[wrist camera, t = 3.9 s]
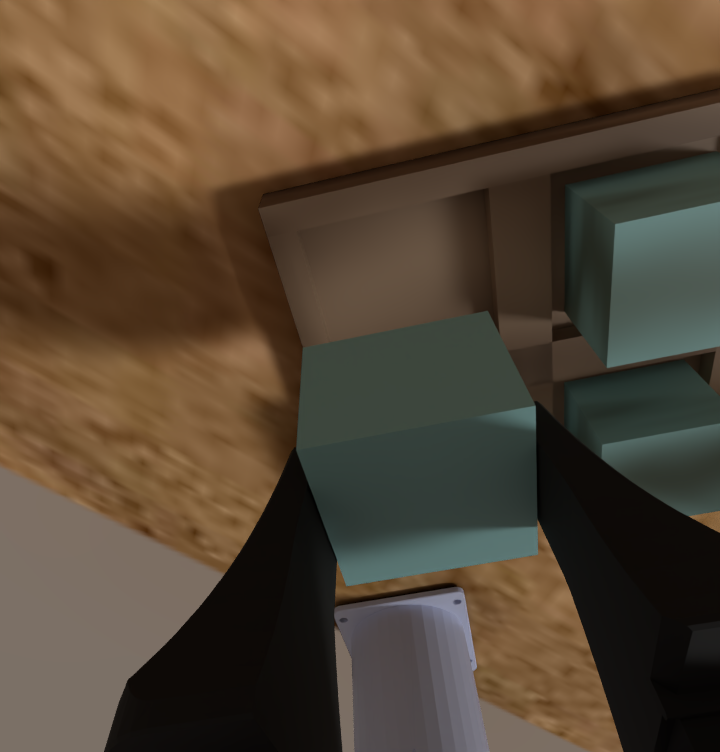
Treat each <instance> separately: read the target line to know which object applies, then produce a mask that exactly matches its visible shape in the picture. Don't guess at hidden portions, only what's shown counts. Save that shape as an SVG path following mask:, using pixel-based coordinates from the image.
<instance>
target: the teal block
mask: <svg viewBox="0 0 720 752" xmlns="http://www.w3.org/2000/svg"><path fill="white" fill-rule="evenodd" d="M296 451H297V454H298V456H299V459H300V462H301V465H302V467H303V470H304V473H305V475H306V478H307V481H308V483H309V486H310V489H311V491H312V494H313V497H314V499H315V502H316V505H317V508H318V510H319V513H320V516H321V518H322V521H323V524H324V526H325V529H326V532H327V534H328V537H329V540H330V542H331V545H332V548H333V550H334V553H335V556H336V559H337V561H338V564H339V567H340V569H341V572H342V575H343V577H344V580H345V583H346V585H347V586H351V585H357V584H363V583H369V582H375V581H381V580H387V579H393V578H399V577H405V576H411V575H417V574H423V573H430V572H436V571H442V570H448V569H454V568H460V567H466V566H472V565H478V564H484V563H490V562H496V561H502V560H508V559H514V558H520V557H526V556H532V555H538V532H537V465H536V405H535V403H534V402H533V400H532V398H531V396H530V394H529V392H528V390H527V388H526V386H525V384H524V382H523V380H522V378H521V376H520V374H519V372H518V370H517V368H516V366H515V364H514V362H513V360H512V358H511V356H510V354H509V352H508V350H507V348H506V346H505V344H504V342H503V340H502V338H501V336H500V334H499V332H498V330H497V328H496V326H495V324H494V322H493V320H492V318H491V316H490V314H489V312H488V311H484V312H479V313H474V314H469V315H464V316H459V317H454V318H449V319H444V320H439V321H434V322H429V323H424V324H419V325H414V326H409V327H404V328H399V329H394V330H389V331H384V332H379V333H374V334H369V335H364V336H359V337H354V338H349V339H344V340H339V341H334V342H329V343H324V344H319V345H314V346H309V347H304V348H303V353H302V369H301V384H300V399H299V414H298V430H297V445H296Z"/></svg>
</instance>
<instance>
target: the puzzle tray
mask: <svg viewBox="0 0 720 752" xmlns="http://www.w3.org/2000/svg"><path fill="white" fill-rule="evenodd" d="M258 210H259V213H260V216H261V219H262V222H263V225H264V228H265V231H266V235H267V238H268V241H269V244H270V247H271V250H272V253H273V256H274V259H275V262H276V266H277V269H278V272H279V275H280V278H281V281H282V284H283V287H284V290H285V294H286V297H287V300H288V303H289V306H290V309H291V312H292V315H293V318H294V322H295V325H296V328H297V331H298V334H299V337H300V340H301V343H302V346H303V348H304V347H309V346H314V345H319V344H324V343H329V342H334V341H339V340H344V339H349V338H354V337H359V336H364V335H369V334H374V333H379V332H384V331H389V330H394V329H399V328H404V327H409V326H414V325H419V324H424V323H429V322H434V321H439V320H444V319H449V318H454V317H459V316H464V315H469V314H474V313H479V312H484V311H488V312H489V314H490V316H491V318H492V320H493V322H494V324H495V326H496V328H497V330H498V332H499V334H500V336H501V338H502V340H503V342H504V344H505V346H506V348H507V350H508V352H509V354H510V356H511V358H512V360H513V362H514V364H515V366H516V368H517V370H518V372H519V374H520V376H521V378H522V380H523V382H524V384H525V386H526V388H527V390H528V392H529V394H530V396H531V398H532V400H533V402H534V401H538V402H539V403H541V404H542V405H543V406H544V407H545V408H546V409H547V410H548V411H549V412H550V413H551V414H552V415H553V416H554V417H555V418H556V419H557V420H558V421H559V422H560V423H561V424H562V425H563V426H564V427H565V428H567V429H568V430H569V431H570V432H571V433H572V434H573V435H574V436H575V437H576V438H578V439H579V440H580V441H581V442H582V443H583V444H585V445H586V446H587V447H588V448H589V449H590V450H592V451H593V452H594V453H595V454H596V455H598V456H599V457H600V458H601V459H603V460H604V461H605V462H606V463H608V464H609V465H610V466H612V467H613V468H614V469H616V470H617V471H618V472H620V473H621V474H622V475H624V476H625V477H626V478H628V479H629V480H630V481H632V482H633V483H635V484H636V485H638V486H639V487H641V488H642V489H644V490H645V491H647V492H648V493H650V494H651V495H653V496H654V497H656V498H658V499H659V500H661V501H662V502H664V503H666V504H667V505H669V506H671V507H672V508H674V509H676V510H677V511H679V512H681V513H683V514H685V515H687V516H691V515H697V514H703V513H709V512H715V511H720V89H716V90H711V91H707V92H703V93H698V94H694V95H690V96H685V97H681V98H677V99H673V100H668V101H664V102H660V103H655V104H651V105H647V106H642V107H638V108H634V109H629V110H625V111H621V112H616V113H612V114H608V115H604V116H599V117H595V118H591V119H586V120H582V121H578V122H573V123H569V124H565V125H560V126H556V127H552V128H547V129H543V130H539V131H534V132H530V133H526V134H522V135H517V136H513V137H509V138H504V139H500V140H496V141H491V142H487V143H483V144H478V145H474V146H470V147H465V148H461V149H457V150H453V151H448V152H444V153H440V154H435V155H431V156H427V157H422V158H418V159H414V160H409V161H405V162H401V163H396V164H392V165H388V166H383V167H379V168H375V169H371V170H366V171H362V172H358V173H353V174H349V175H345V176H340V177H336V178H332V179H327V180H323V181H319V182H314V183H310V184H306V185H302V186H297V187H293V188H289V189H284V190H280V191H276V192H271V193H267V194H263V196H262V199H261V202H260V205H259V208H258Z"/></svg>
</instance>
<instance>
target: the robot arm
mask: <svg viewBox="0 0 720 752" xmlns="http://www.w3.org/2000/svg"><path fill="white" fill-rule="evenodd" d="M534 403H535V405H536V465H537V519H538V521H539V523H540V525H541V527H542V529H543V532H544V534H545V536H546V538H547V540H548V542H549V544H550V547H551V549H552V551H553V553H554V555H555V557H556V559H557V561H558V564H559V566H560V568H561V570H562V572H563V574H564V577H565V579H566V582H567V584H568V586H569V589H570V591H571V594H572V597H573V600H574V603H575V606H576V608H577V611H578V614H579V617H580V620H581V623H582V625H583V628H584V631H585V634H586V637H587V640H588V643H589V646H590V649H591V652H592V655H593V658H594V661H595V664H596V667H597V670H598V673H599V676H600V679H601V682H602V685H603V688H604V691H605V694H606V697H607V700H608V703H609V707H610V710H611V713H612V716H613V719H614V722H615V726H616V729H617V732H618V735H619V739H620V742H621V745H622V748H623V751H624V752H720V533H719V532H717V531H715V530H713V529H711V528H709V527H707V526H705V525H703V524H702V523H700V522H698V521H696V520H694V519H692V518H690V517H688V516H687V515H685V514H683V513H681V512H679V511H677V510H676V509H674V508H672V507H671V506H669V505H667V504H666V503H664V502H662V501H661V500H659V499H658V498H656V497H654V496H653V495H651V494H650V493H648V492H647V491H645V490H644V489H642V488H641V487H639V486H638V485H636V484H635V483H633V482H632V481H630V480H629V479H628V478H626V477H625V476H624V475H622V474H621V473H620V472H618V471H617V470H616V469H614V468H613V467H612V466H610V465H609V464H608V463H606V462H605V461H604V460H603V459H601V458H600V457H599V456H598V455H596V454H595V453H594V452H593V451H592V450H590V449H589V448H588V447H587V446H586V445H585V444H583V443H582V442H581V441H580V440H579V439H578V438H576V437H575V436H574V435H573V434H572V433H571V432H570V431H569V430H568V429H567V428H565V427H564V426H563V425H562V424H561V423H560V422H559V421H558V420H557V419H556V418H555V417H554V416H553V415H552V414H551V413H550V412H549V411H548V410H547V409H546V408H545V407H544V406H543V405H542V404H541V403H539V402H538V401H534ZM336 568H337V559H336V556H335V553H334V550H333V548H332V545H331V542H330V540H329V537H328V534H327V532H326V529H325V526H324V524H323V521H322V518H321V516H320V513H319V510H318V508H317V505H316V502H315V499H314V497H313V494H312V491H311V489H310V486H309V483H308V481H307V478H306V475H305V473H304V470H303V467H302V465H301V462H300V459H299V456H298V454H297V451H296V447H295V448H294V449H293V450H292V451H291V454H290V456H289V458H288V461H287V463H286V466H285V468H284V470H283V472H282V475H281V477H280V479H279V481H278V483H277V486H276V488H275V490H274V492H273V494H272V496H271V498H270V500H269V502H268V504H267V506H266V508H265V510H264V512H263V514H262V515H261V517H260V519H259V521H258V522H257V524H256V526H255V528H254V529H253V531H252V533H251V535H250V536H249V538H248V540H247V542H246V543H245V545H244V546H243V548H242V550H241V551H240V553H239V554H238V556H237V557H236V559H235V560H234V562H233V563H232V565H231V566H230V568H229V569H228V570H227V572H226V573H225V575H224V576H223V577H222V579H221V580H220V581H219V583H218V584H217V585H216V587H215V588H214V589H213V591H212V592H211V593H210V595H209V596H208V597H207V598H206V600H205V601H204V602H203V603H202V605H201V606H200V607H199V608H198V609H197V610H196V612H195V613H194V614H193V615H192V616H191V617H190V618H189V620H188V621H187V622H186V623H185V624H184V625H183V626H182V627H181V628H180V630H179V631H178V632H177V633H176V634H175V635H174V636H173V637H172V638H171V639H170V640H169V641H168V642H167V643H166V645H164V646H163V647H162V648H161V649H160V650H159V651H158V652H157V653H156V654H155V655H154V656H153V657H152V658H151V659H150V660H149V661H148V662H147V663H146V664H144V665H143V666H142V667H141V668H140V669H139V670H138V671H137V672H136V673H135V674H134V675H133V676H132V677H131V678H129V679H128V681H127V683H126V687H125V689H124V691H123V694H122V697H121V698H120V701H119V704H118V708H117V711H116V714H115V717H114V720H113V724H112V727H111V730H110V734H109V737H108V740H107V744H106V747H105V750H104V752H342V742H341V728H340V716H339V702H338V687H337V670H336V653H335V632H334V618H335V621H336V623H337V625H338V628H339V630H340V632H341V635H342V637H343V639H344V642H345V644H346V646H347V649H348V651H349V653H350V656H351V658H352V679H353V681H352V682H353V715H354V747H355V748H354V749H355V752H490V751H489V747H488V742H487V737H486V732H485V727H484V723H483V719H482V713H481V708H480V704H479V699H478V694H477V689H476V684H475V680H474V675H473V671H474V670H475V669H476V668H477V665H476V659H475V653H474V647H473V642H472V636H471V630H470V624H469V619H468V613H467V607H466V602H465V596H464V591H463V589H462V588H460V587H451V588H445V589H439V590H433V591H427V592H421V593H414V594H408V595H402V596H396V597H390V598H384V599H378V600H372V601H365V602H359V603H353V604H347V605H341V606H337V607H336V608H335V588H336Z"/></svg>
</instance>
